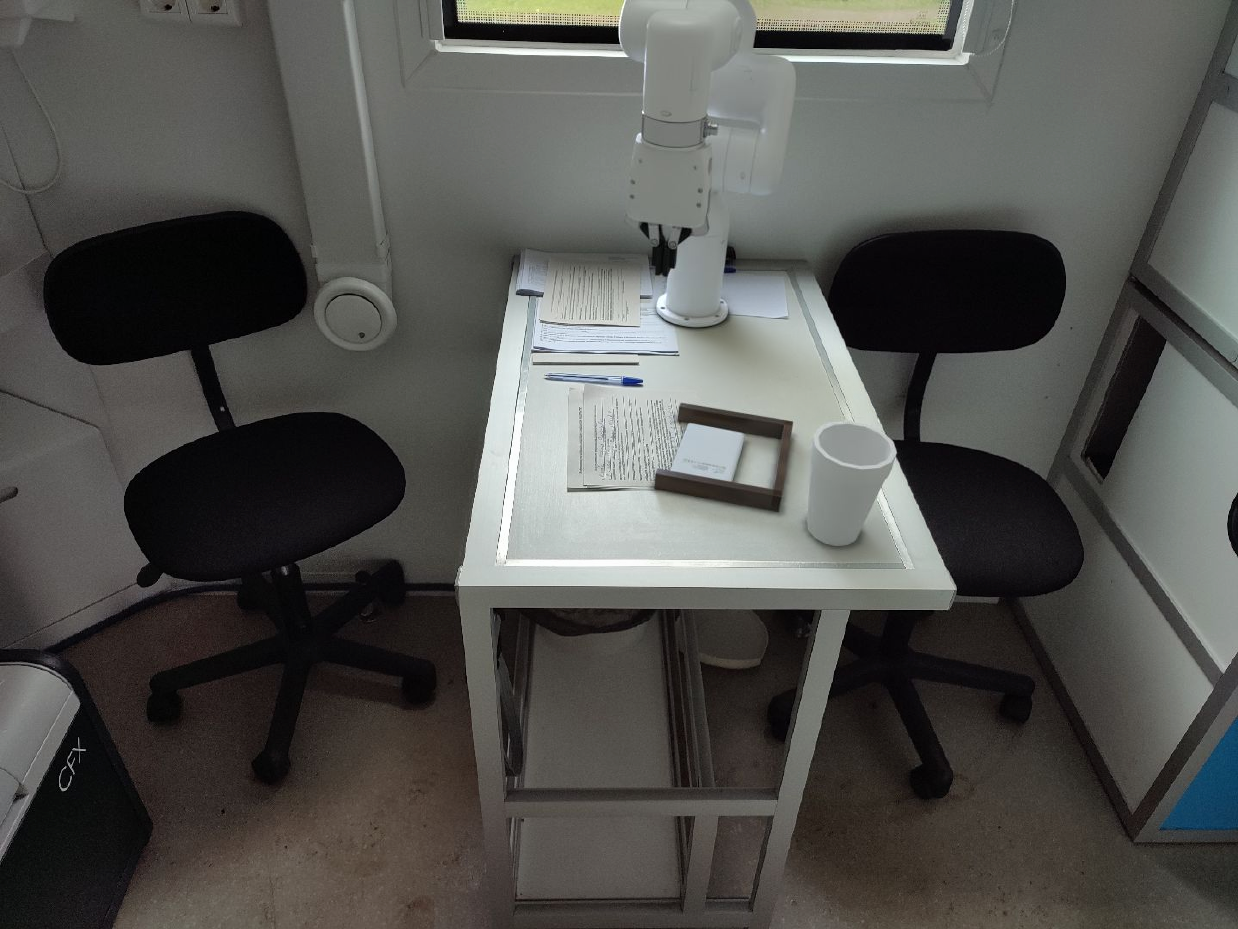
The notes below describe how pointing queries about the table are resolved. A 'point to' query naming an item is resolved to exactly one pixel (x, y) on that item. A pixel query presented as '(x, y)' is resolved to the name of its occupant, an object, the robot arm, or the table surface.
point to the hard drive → (709, 452)
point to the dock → (723, 488)
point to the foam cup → (845, 478)
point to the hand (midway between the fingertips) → (663, 271)
